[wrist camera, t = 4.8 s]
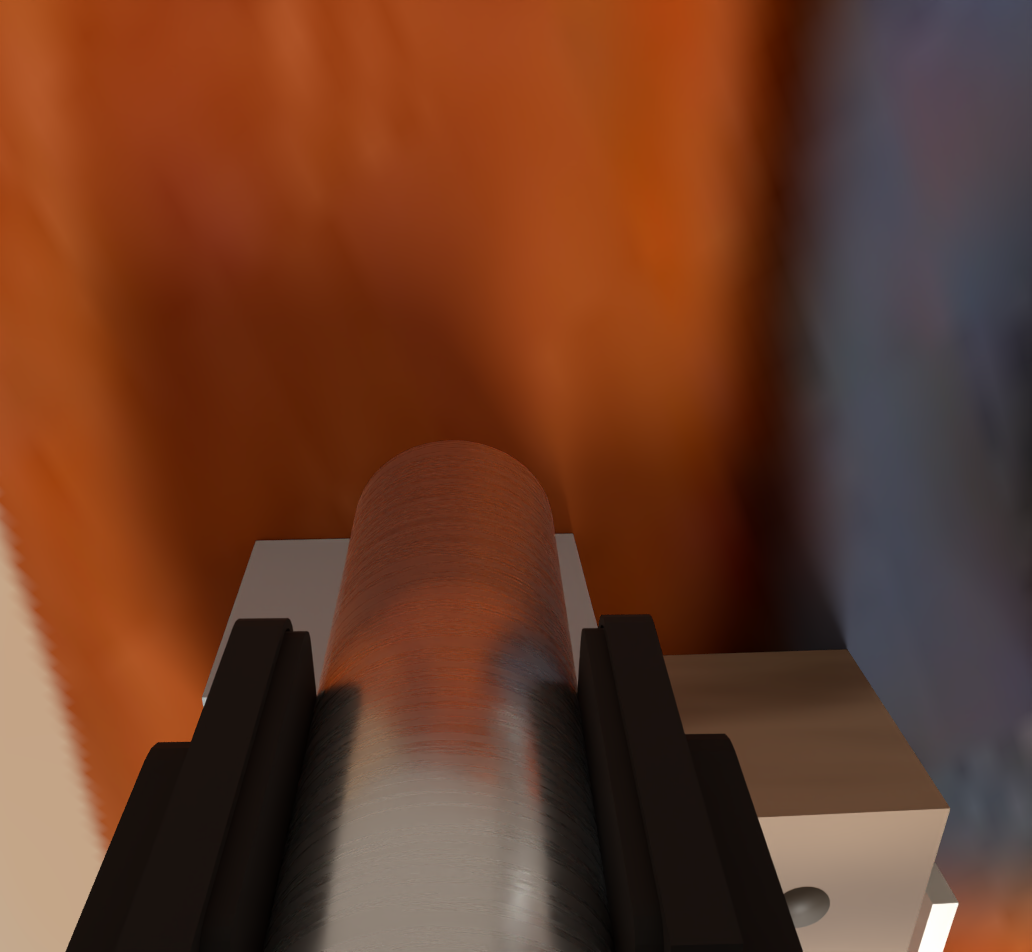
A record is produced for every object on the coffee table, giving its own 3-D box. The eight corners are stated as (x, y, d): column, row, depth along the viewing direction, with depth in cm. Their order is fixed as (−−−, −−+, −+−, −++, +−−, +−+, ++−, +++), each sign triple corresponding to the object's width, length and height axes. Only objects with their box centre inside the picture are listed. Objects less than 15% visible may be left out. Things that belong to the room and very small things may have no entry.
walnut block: (637, 654, 26) (689, 821, 21) (845, 647, 26) (950, 808, 21) (622, 813, 29) (665, 997, 23) (812, 804, 29) (897, 983, 24)
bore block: (255, 540, 23) (201, 697, 18) (572, 533, 24) (612, 683, 19) (285, 780, 27) (247, 972, 22) (560, 769, 28) (590, 952, 22)
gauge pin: (348, 440, 13) (114, 1332, 5) (556, 440, 14) (714, 1307, 5) (361, 610, 15) (200, 1539, 6) (549, 608, 15) (661, 1514, 6)
